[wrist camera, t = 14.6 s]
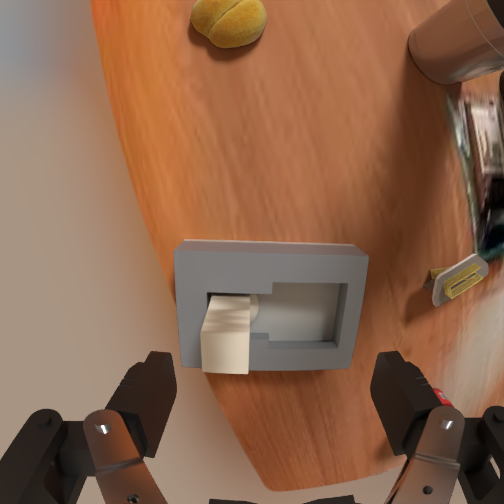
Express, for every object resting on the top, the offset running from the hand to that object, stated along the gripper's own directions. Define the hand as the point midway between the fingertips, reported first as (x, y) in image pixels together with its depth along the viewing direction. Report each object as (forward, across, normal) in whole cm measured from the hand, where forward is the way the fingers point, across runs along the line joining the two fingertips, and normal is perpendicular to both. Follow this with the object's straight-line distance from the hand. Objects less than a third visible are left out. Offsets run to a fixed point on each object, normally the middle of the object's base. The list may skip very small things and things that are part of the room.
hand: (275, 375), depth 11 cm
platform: (+27, -25, +4) cm, 37 cm away
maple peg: (+24, +4, +8) cm, 26 cm away
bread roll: (+26, +4, -27) cm, 38 cm away
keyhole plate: (+25, 0, +8) cm, 26 cm away
